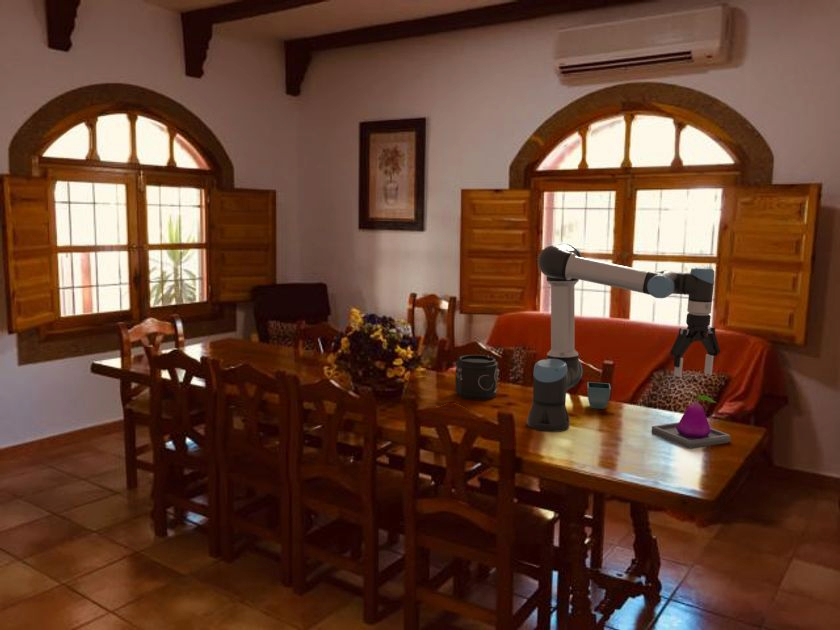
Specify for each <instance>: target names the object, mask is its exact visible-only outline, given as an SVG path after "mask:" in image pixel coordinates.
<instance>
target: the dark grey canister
mask: <svg viewBox="0 0 840 630" xmlns="http://www.w3.org/2000/svg"><path fill="white" fill-rule="evenodd" d="M498 365H499V362H498V361H497V359H496V357H493V356H490V355H485V354H484V355H483V354H467V355H461V356H459V357H458V358H457V361H456V362H455V379H454V383H455V389H454V392H455V393H456V396H458V397H459V398H460V399H465V400H470V401H488V400H491V399H493V398H494V397H495V395H496V394H497V393H498V388H497V387H498V386H497V385H498Z"/></svg>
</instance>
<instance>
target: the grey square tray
mask: <svg viewBox="0 0 840 630" xmlns="http://www.w3.org/2000/svg"><path fill="white" fill-rule="evenodd" d="M679 422H680V421H678V422H672V423H666V424H665V423H664V424H659V425H658V424H657V425H652V426H651V434H653V435H654V436H657V437H660V438H662V439H665V440H667V441H670V442H672V443H675V444H677V445H679V446H682V447H684V448H687V449H689V450H691V449H699V448H702V447H709V446H715V445H721V444H729V443H730V442H731V434H728V433H727V432H723V431H720V430H719V429H718V430H717V429H715V428H712V427H710V429H711V432H710V434H709V435H708V436H706V437H704V438H702V439H699V438H690V437H686V436H684V435H682V434H680V433H678V431H677V429H676V427H677V425H678V423H679ZM728 442H729V443H728Z"/></svg>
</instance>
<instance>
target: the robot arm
mask: <svg viewBox="0 0 840 630" xmlns="http://www.w3.org/2000/svg"><path fill="white" fill-rule="evenodd" d="M582 255H583V254H582V253H581V251H580V250H579V249H578V248H577V247H576V246H575V245H573V244H568V243H559V244H553V245H549V246H547V247H545V248H544V249H542V250H541V252H540V253H539V255H538V258H537V265H538V268H539V270H540V272H541V273H542V275H545V276H546V283H548V284H549V285H550V335H551V336H550V341H551V342H550V347H551V348H550V350H549V351H548V352H547V353H546V358H545V359H541V360H538V361H537V362H535V364H534V367H533V380H532V381H533V383H532V385H533V386H532V388H533V389H532V404H531V408H530V410H529V413H528V416H527V418H526V424H527V426H528V427H529V428H531V429H534V430H537V431H541V432H562V431H565V430H568V429H570V425H571V424H570V423H571V422H570V416H569V414H568V410H567V407H566V404H567V403H566V401H567V400H566V398H567V390H569V389H572V388H574V387H575V386H576V385H577V384H578V383H579V381H580V380H581V379H582V376H583V366H582V364H581V362H580V358H579V357H580V355H579V352H578V351H577V350H576V349H575V345H576V344H575V343H576V342H575V333H576V332H575V331H576V330H575V329H576V328H575V325H576V324H575V318H576V317H575V285H576V284H578V282H579V281H585V282H589V283H594V284H599V285H603V286H607V287H613V288H618V289H623V290H628V291H630V292H631V291H632V292H635V293H641V294H645V295H649V296H652V297H654V298H655V299H666V298H668V297H670V296H671V295H672V294H673V295H683V296H686V295H687V296H688V299H687V300H688V301H687V308H686V309H687V310H686V312H687V314H686V319H685V323H686V324H687V327H686V328H684V327H679V330H678V334H677V336H676V338H675V341H674V343H673V345H672V346H671V349H670V351H669V356H671V357H673V367H674V370H673V371H674V372H673V376H674V377H677V378H682V375H683V367H684V366H683V364H684V358H683V355H684V354H685V353H686V351H687V350H688V348H689V347H690V346H691V345H692V344H693V343H694V342H701V343H702V346H704V349H705V351H706V352H707V354H705V362H704V370H703V373H704V374H707V375H713V367H714V363H715V356H716V357H717V356H718V355H719V354H720V353H721V350H720V345H719V343H718V342H719V341H718V338H717V335H716V328H715V327H713V326H710V325H711V318H712V317H711V315H710V314H712V306H713V305H712V303H713V296H714V288H715V287H714V286H715V270H714V269H713V268H711V267H702V266H701V267H700V266H694V267H691V268H690V272H683V271H682V272H681V271H670V270H656V271H650V270H649V271H648V270H646V269H645V270H644V269H640V268H636V267H629V266H626V265H625V266H624V265H620V264H615V263H610V262H606V261H605V262H604V261H600V260H596V259H595V260H594V259H591V258H584V257H583V256H582Z"/></svg>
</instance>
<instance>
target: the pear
mask: <svg viewBox="0 0 840 630" xmlns="http://www.w3.org/2000/svg"><path fill="white" fill-rule="evenodd" d="M695 399H696V400H695V401H694V402H692V403H691V404H690V405H688V407H687V408H686V410H685V411H684V413H683V414H682V416H681V418H680V420H679V421H678V422H679V423H678V422H677V423H678V425H677V427H676V429H677V431H678V433H680V434H682V435H684V436H686V437H690V438H699V439H702V438H704V437H706V436H708V435H709V434H710V432H711V429H710V428H711V426H710V423H709V421H708V418H707V414H706V412H705V409H704V407H703V405H701V403H699V400H703V401H706V402H709V403H713V404H714V403H715V404H716V403H717V402H716V401H715V400H714V399H712V398H711V397H710V396H708V395H706V394H702V395H701V393H700V392H696V398H695Z"/></svg>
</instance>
